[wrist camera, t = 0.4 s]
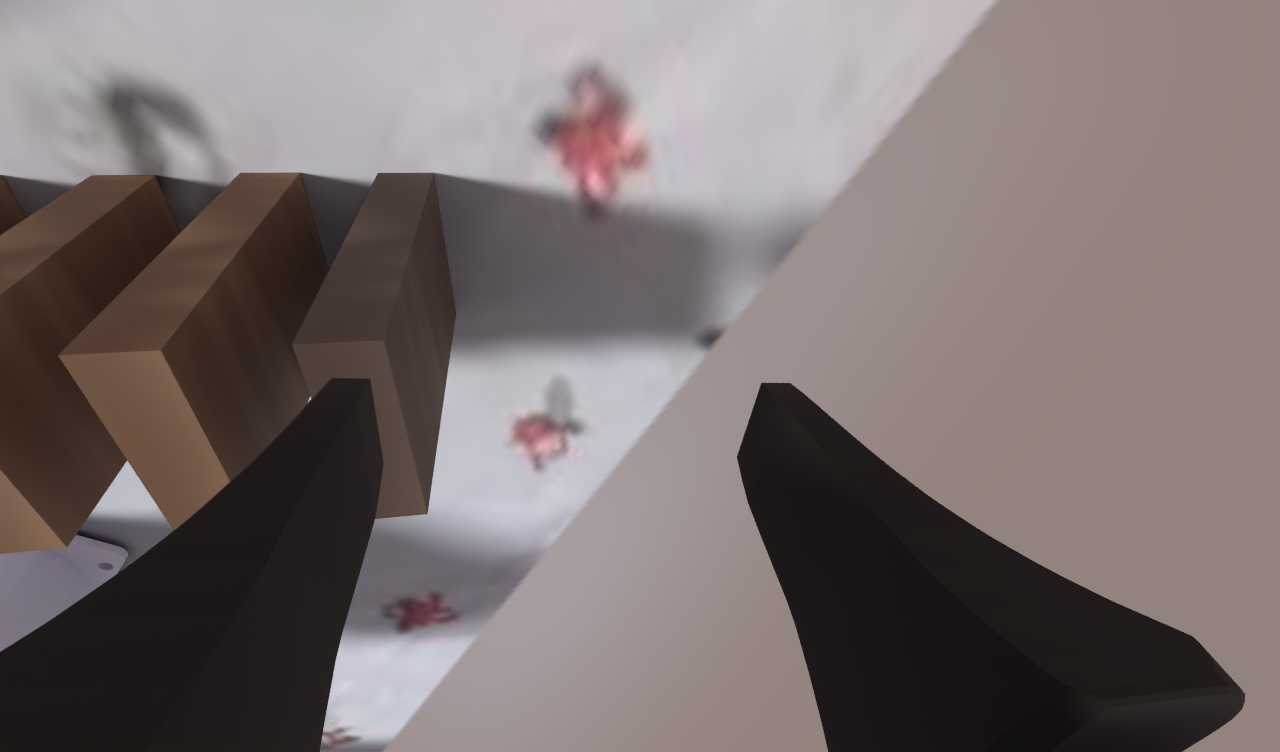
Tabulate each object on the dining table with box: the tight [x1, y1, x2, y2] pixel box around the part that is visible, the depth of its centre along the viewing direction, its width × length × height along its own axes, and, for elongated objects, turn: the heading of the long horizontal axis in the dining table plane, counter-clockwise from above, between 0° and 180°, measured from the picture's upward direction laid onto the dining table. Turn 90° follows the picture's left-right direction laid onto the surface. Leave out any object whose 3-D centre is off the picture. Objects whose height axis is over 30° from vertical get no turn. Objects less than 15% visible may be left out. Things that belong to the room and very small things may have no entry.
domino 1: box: [0, 175, 180, 554], centre depth 15 cm, size 2×5×9 cm, turn 177°
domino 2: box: [58, 173, 329, 530], centre depth 16 cm, size 2×5×9 cm, turn 177°
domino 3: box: [292, 173, 456, 519], centre depth 16 cm, size 2×5×9 cm, turn 177°
